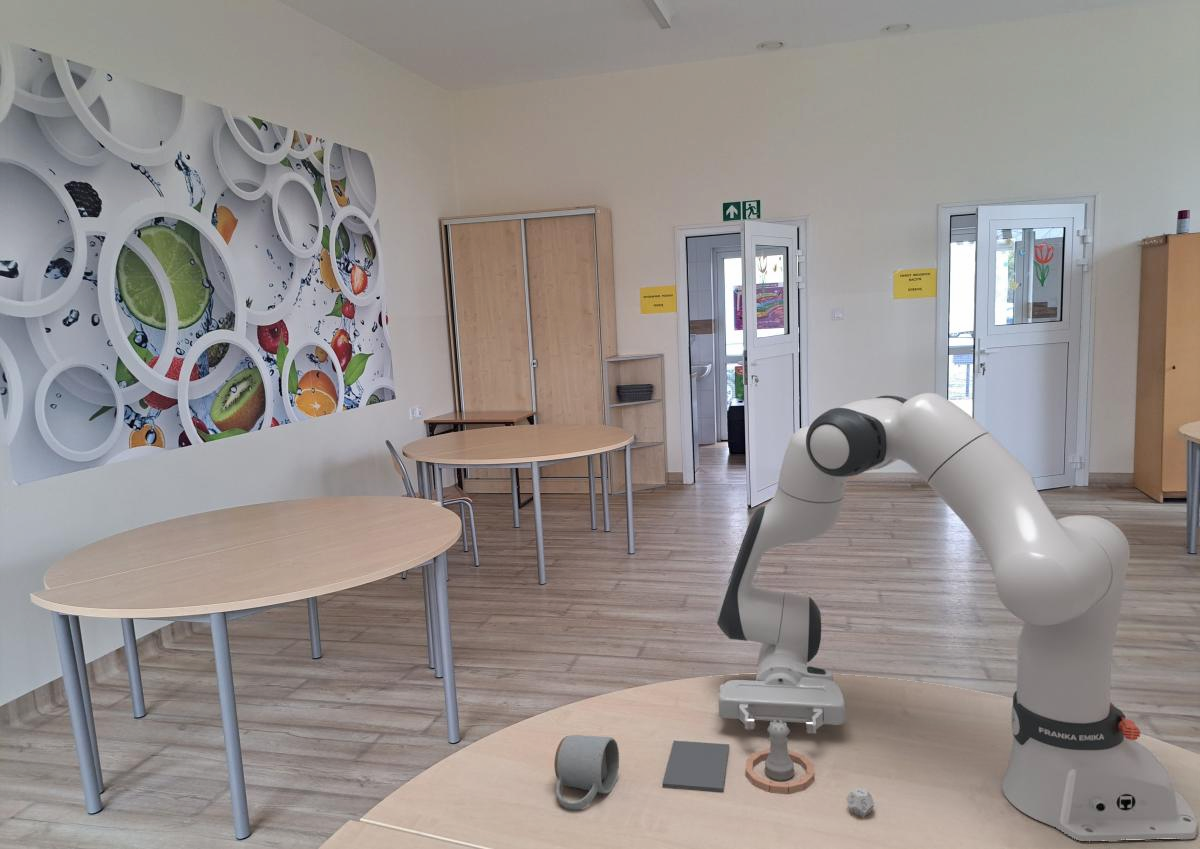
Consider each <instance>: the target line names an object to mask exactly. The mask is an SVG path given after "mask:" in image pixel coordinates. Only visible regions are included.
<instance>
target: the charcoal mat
mask: <svg viewBox="0 0 1200 849" xmlns="http://www.w3.org/2000/svg"><path fill="white" fill-rule="evenodd" d="M729 752H730V744H727V743H714V742H703V741H702V742H700V741H697V742H696V741H688V740H687V741H685V740H673V743H672V744H671V750H670V754H669V756H668V757H669V758H668V761H667V763H666V768H665V772H664V777H663V778H662V779H663V780H662V783H661V784H662V788H669V789H679V790H680V789H681V790H691V791H704V792H715V793H716V792H717V793H724V789H725V783H726V776H727V768H728V760H729Z"/></svg>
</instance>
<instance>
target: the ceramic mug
mask: <svg viewBox="0 0 1200 849" xmlns="http://www.w3.org/2000/svg"><path fill="white" fill-rule="evenodd" d="M553 765H554V773H555V776H556V778H557V780H558V781H557V782H556V783H557V784H556V796H557V799H558V800H559V804H561V806H563V807H564V808H566V809H568V810H572V811H577V810H582V809H584V808H585V807H587V806H589V805H590V804H591V802H593V800H594V798H595V797H596V795H597V794H598V793H599V794H604V795H605V794H609V793H610V792H611V791H612V790H613V789H614V787H615V785H616V782H617V778H618V774H619V769H620V752H619V746H618V742H617V741H616V739H615V738H614V737H609V736H595V735H581V734H572V735H566V736H565V737H563V738H562V739H561V740H560V742H559V744H558V745H557V748H556V750H555V756H554V764H553ZM564 786H567V787H570V788H577V789H582V790H585V791H589V792H588V793H587V794H586V795H585V796H584V797H583V798H581V799H579V800H577V801H574V802H571V801H568V800H567V799H566V798H564V797H563V796H562V791H563V788H564Z"/></svg>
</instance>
